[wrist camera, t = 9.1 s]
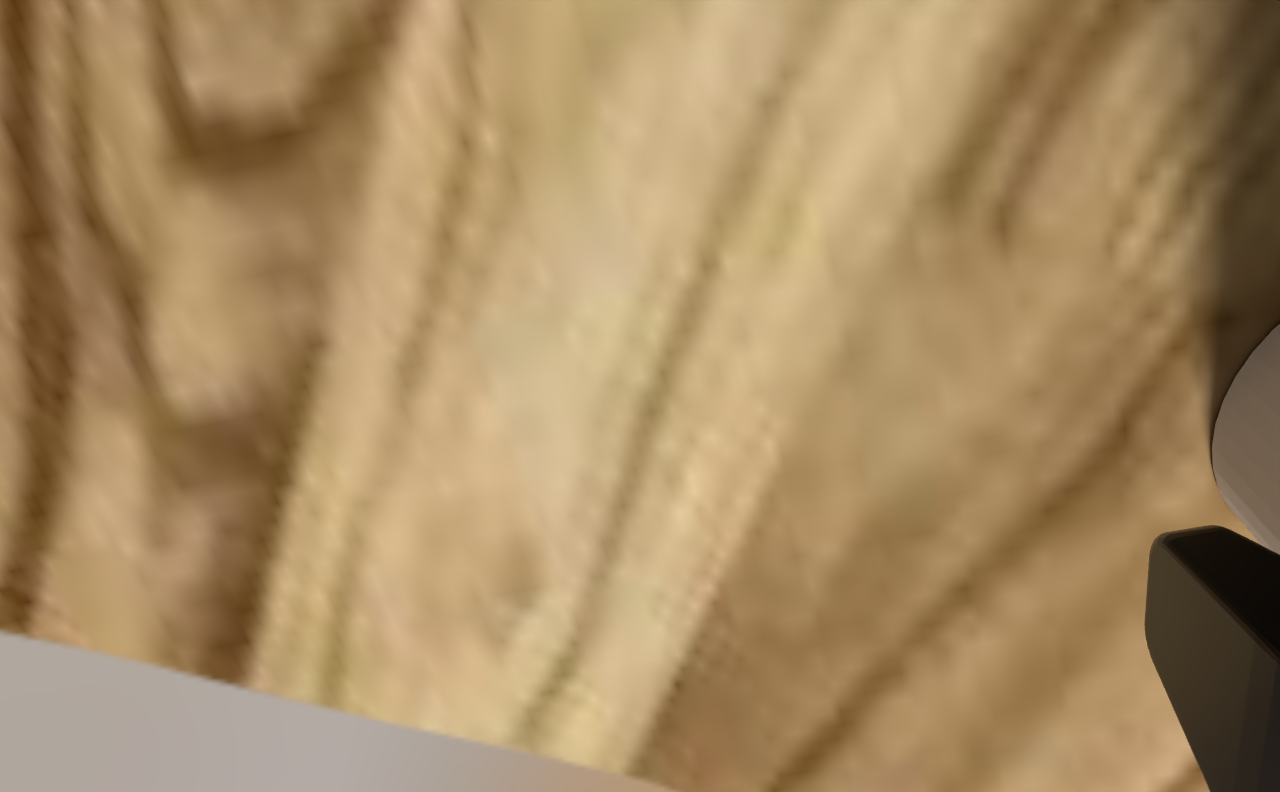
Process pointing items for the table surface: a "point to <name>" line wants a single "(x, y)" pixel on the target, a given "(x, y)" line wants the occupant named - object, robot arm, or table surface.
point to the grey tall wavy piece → (1252, 443)
